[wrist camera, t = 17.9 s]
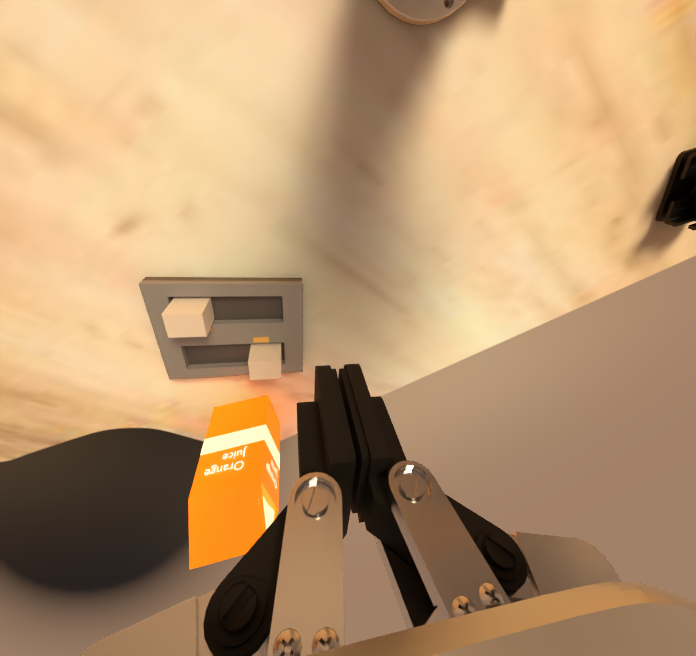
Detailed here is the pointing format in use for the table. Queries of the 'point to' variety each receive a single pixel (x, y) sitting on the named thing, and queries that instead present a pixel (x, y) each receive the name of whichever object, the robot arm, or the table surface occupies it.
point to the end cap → (680, 192)
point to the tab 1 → (188, 317)
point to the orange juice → (235, 482)
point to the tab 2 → (265, 361)
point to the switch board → (229, 323)
